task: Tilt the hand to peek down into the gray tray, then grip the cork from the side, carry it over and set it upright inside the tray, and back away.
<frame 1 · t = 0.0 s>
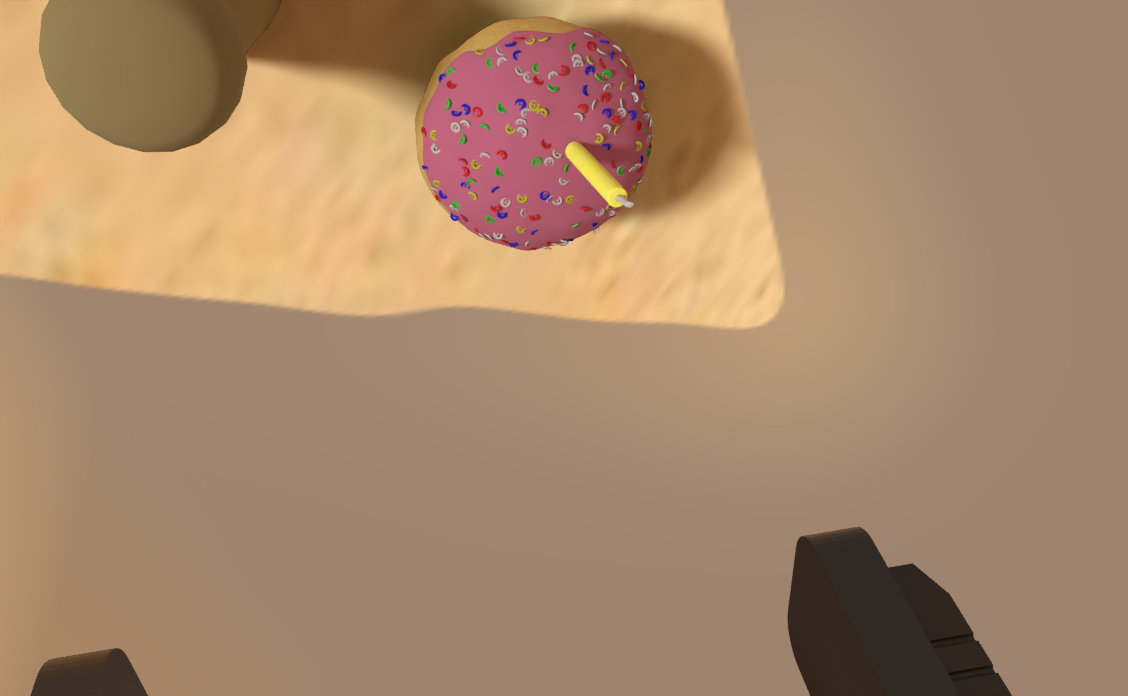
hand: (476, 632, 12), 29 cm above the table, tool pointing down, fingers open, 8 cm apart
cupcake: (520, 92, 39), on the table
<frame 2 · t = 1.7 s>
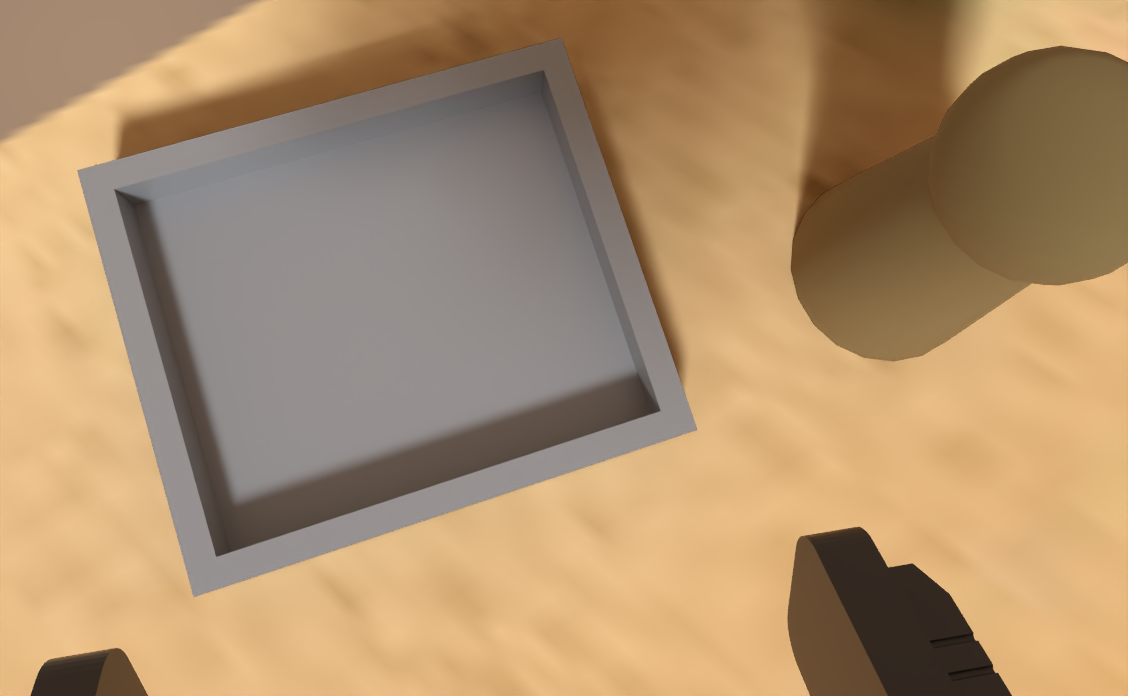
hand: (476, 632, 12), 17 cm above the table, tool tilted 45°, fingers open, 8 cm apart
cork: (881, 268, 31), on the table
gray tray: (397, 317, 29), on the table
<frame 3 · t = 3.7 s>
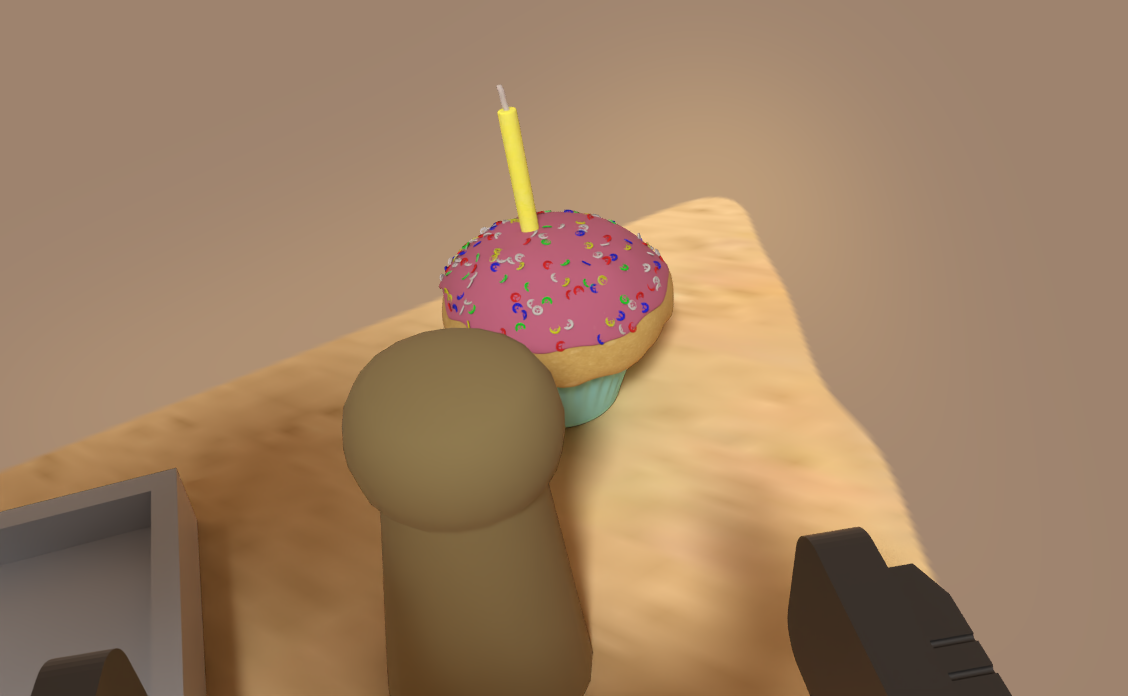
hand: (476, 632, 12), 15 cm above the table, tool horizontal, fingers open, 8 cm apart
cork: (490, 664, 28), on the table
cupcake: (562, 392, 38), on the table
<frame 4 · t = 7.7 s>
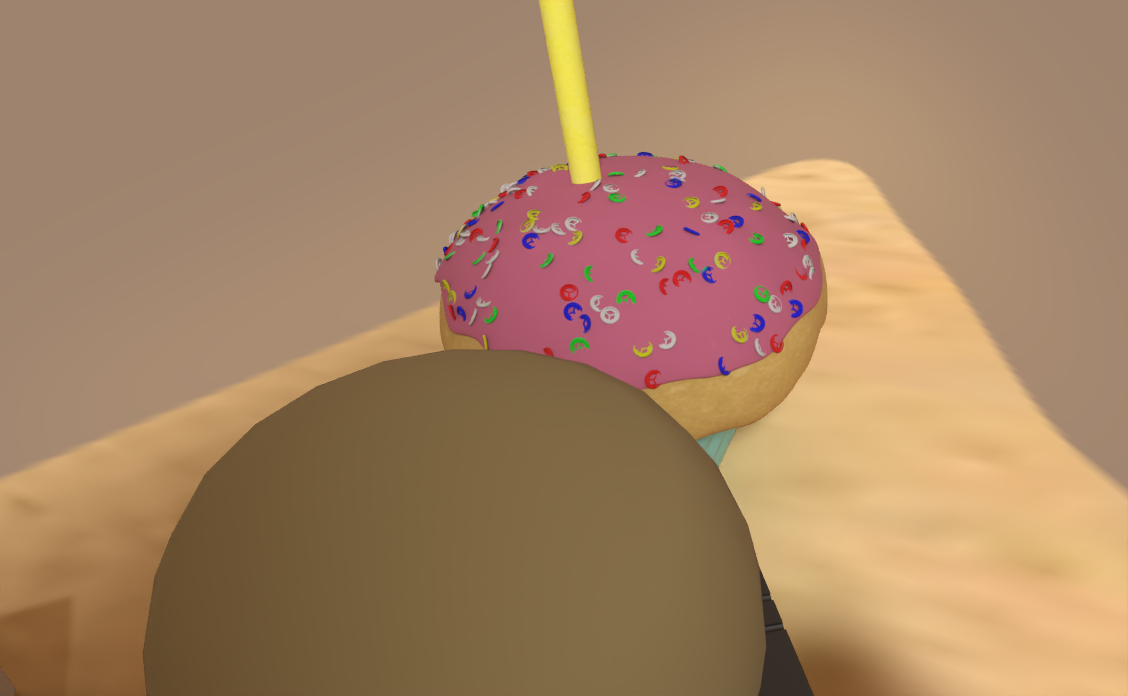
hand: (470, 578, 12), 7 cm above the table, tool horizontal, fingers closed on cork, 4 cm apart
cupcake: (632, 447, 24), on the table
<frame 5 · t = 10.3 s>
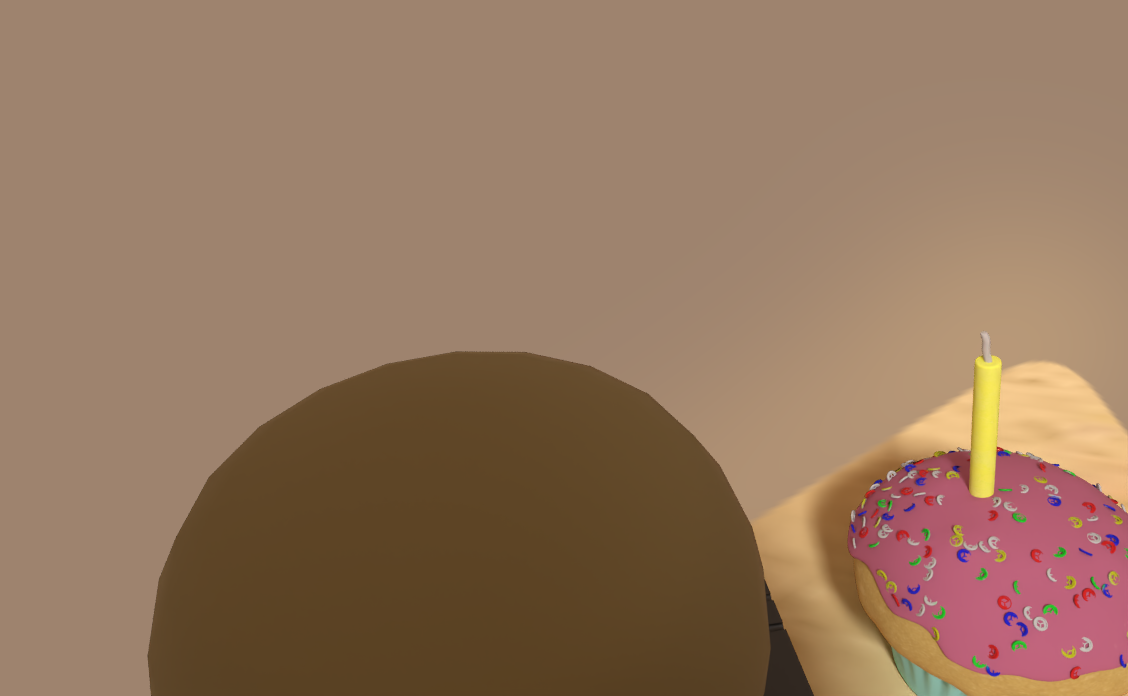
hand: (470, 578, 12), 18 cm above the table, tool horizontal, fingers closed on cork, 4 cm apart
cupcake: (972, 663, 31), on the table
when the fingers open (9 cm above the table, at t = 12.9 s): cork moves 3 cm, resting on gray tray.
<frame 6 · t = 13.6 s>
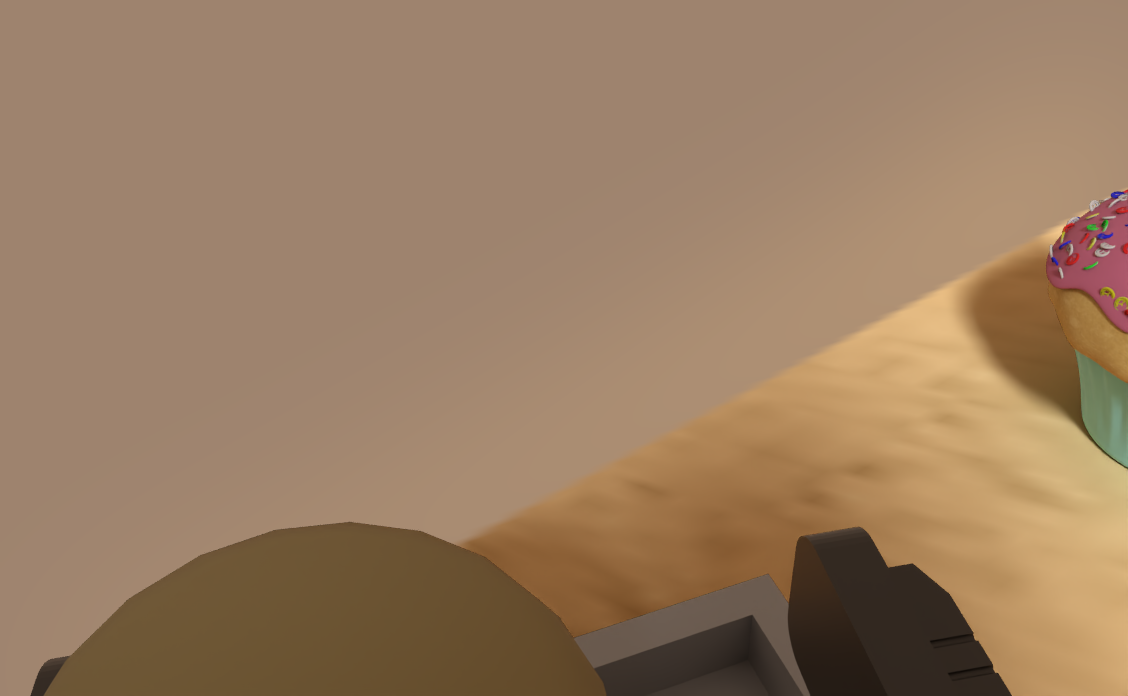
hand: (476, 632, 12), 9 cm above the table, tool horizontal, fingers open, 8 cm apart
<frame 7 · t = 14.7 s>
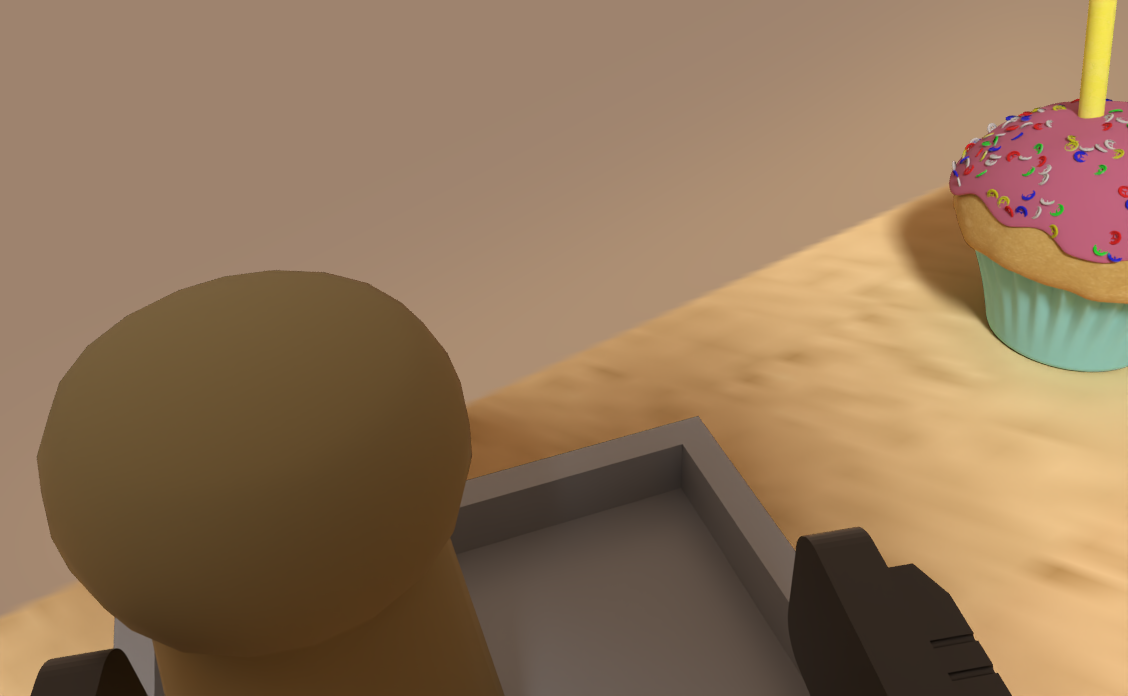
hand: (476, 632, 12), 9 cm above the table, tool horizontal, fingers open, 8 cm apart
cupcake: (1068, 331, 31), on the table
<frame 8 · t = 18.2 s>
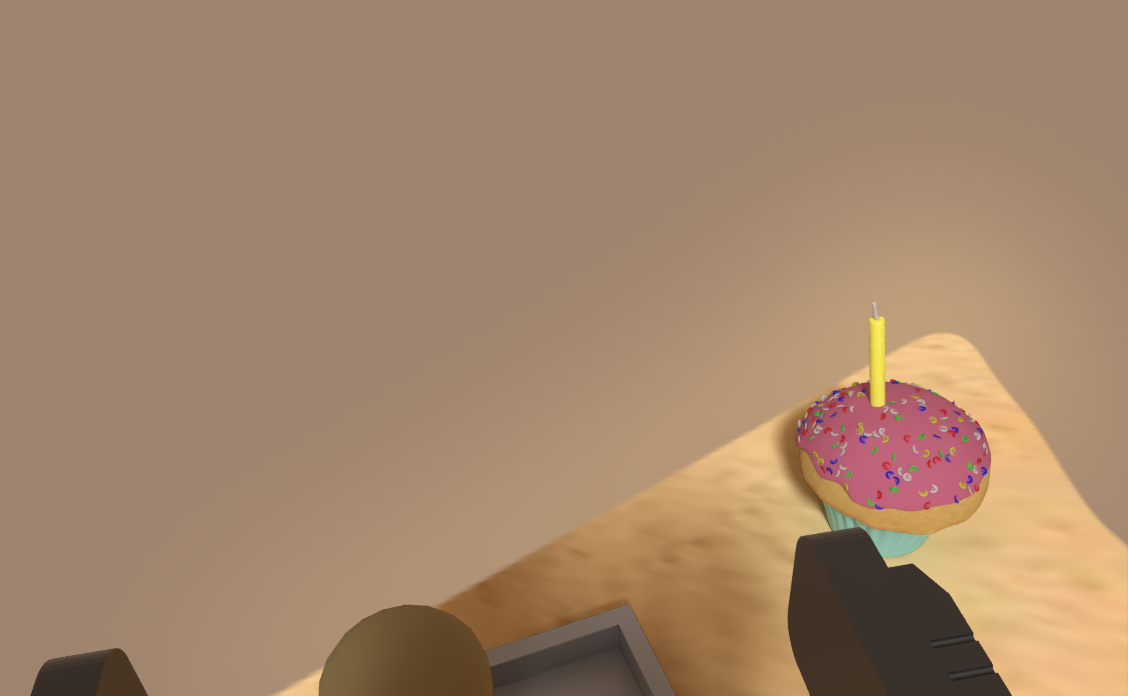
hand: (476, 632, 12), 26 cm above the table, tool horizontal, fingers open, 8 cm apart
cupcake: (879, 522, 47), on the table
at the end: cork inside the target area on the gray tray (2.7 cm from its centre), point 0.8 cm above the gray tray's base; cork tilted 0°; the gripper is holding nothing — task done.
